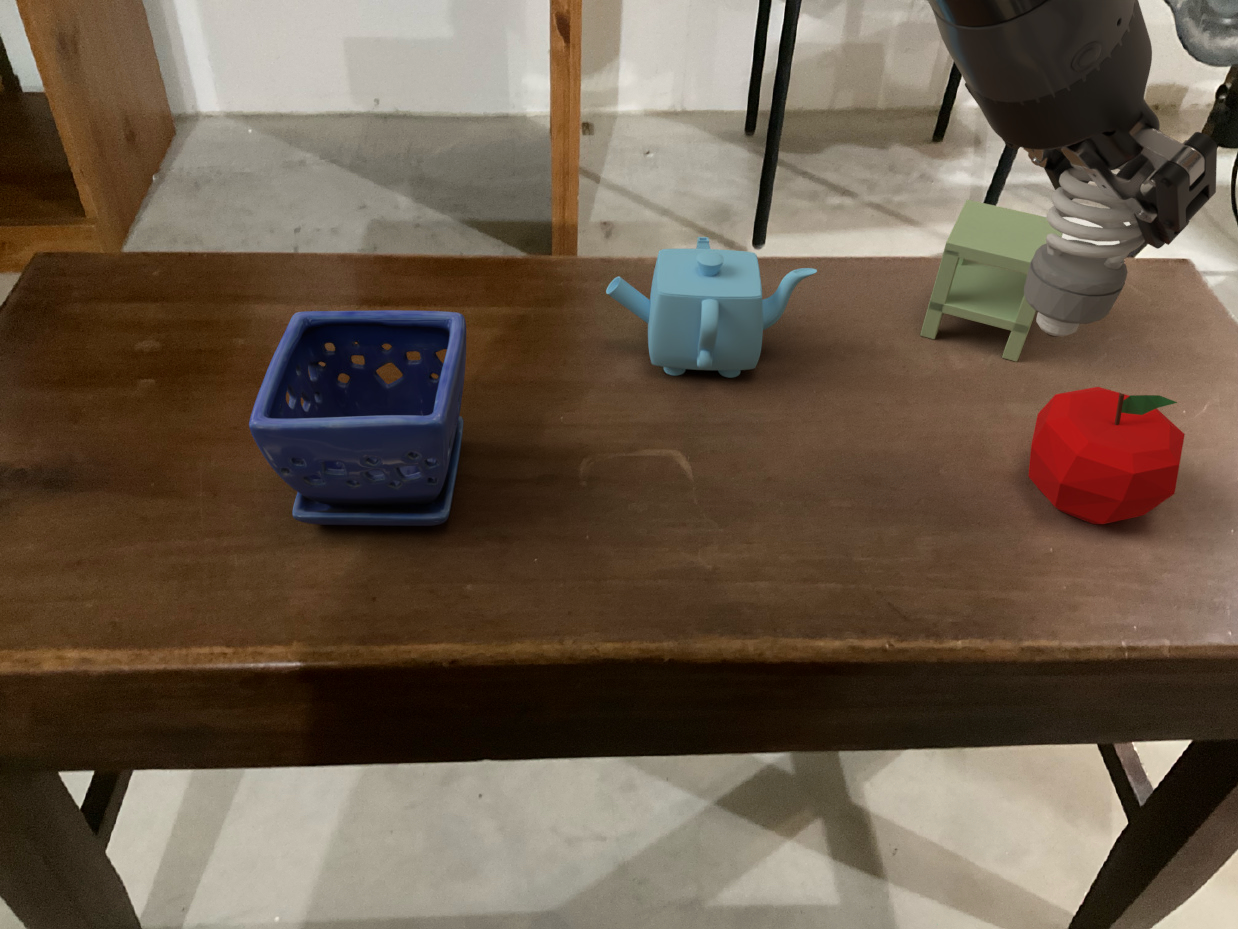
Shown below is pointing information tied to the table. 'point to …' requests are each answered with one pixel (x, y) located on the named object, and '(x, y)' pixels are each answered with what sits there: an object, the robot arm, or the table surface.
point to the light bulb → (1081, 256)
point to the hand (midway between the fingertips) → (1120, 208)
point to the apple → (1105, 454)
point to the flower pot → (365, 416)
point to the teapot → (706, 308)
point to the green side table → (988, 271)
